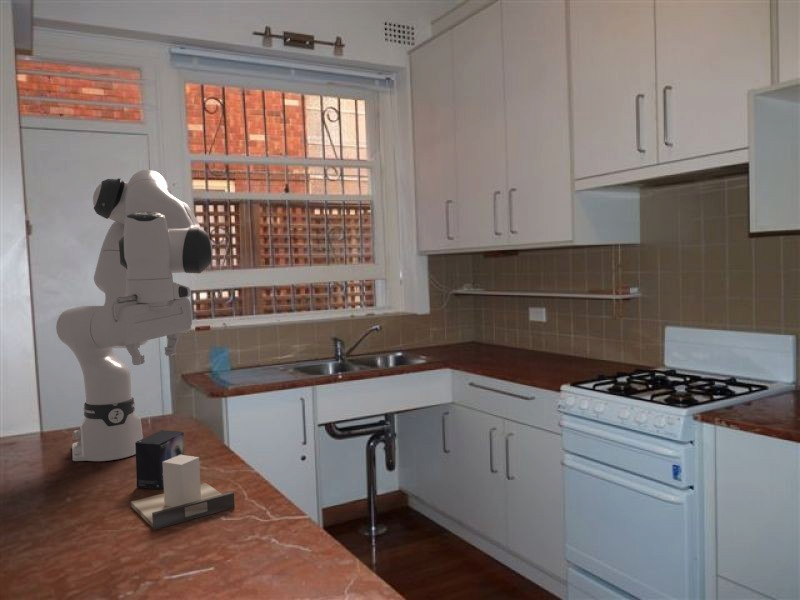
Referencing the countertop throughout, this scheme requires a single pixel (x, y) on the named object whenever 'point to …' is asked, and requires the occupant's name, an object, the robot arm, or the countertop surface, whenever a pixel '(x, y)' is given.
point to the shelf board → (182, 507)
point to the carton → (181, 480)
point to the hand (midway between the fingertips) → (155, 359)
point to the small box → (156, 456)
